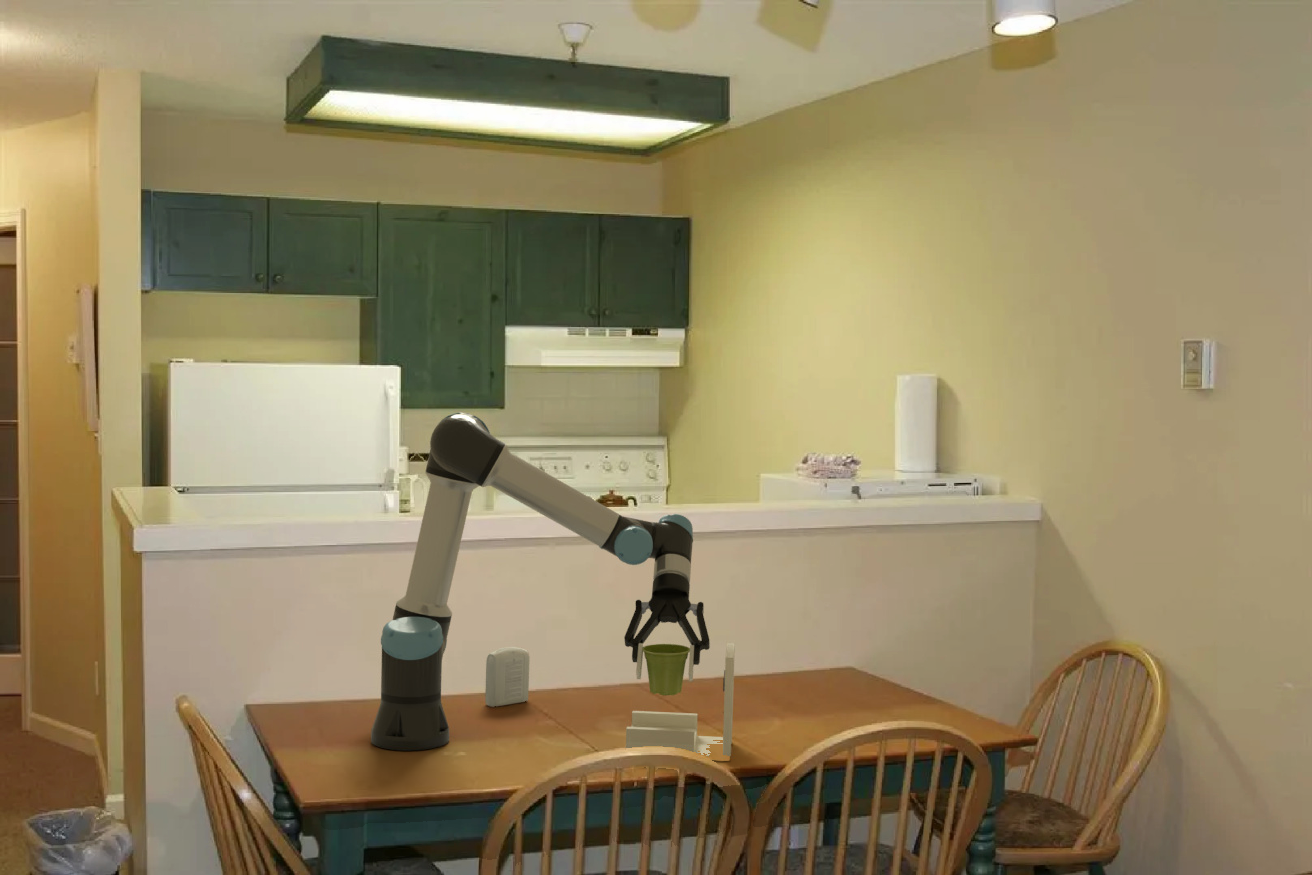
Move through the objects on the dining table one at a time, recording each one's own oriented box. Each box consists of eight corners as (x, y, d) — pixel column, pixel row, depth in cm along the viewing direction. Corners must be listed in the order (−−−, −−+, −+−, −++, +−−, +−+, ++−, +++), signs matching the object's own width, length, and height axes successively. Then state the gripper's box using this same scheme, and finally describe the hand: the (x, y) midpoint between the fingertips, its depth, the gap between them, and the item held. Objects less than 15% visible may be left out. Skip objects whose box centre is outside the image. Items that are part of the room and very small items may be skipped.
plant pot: (648, 699, 269) (649, 654, 269) (635, 687, 278) (636, 644, 278) (695, 697, 272) (696, 652, 271) (681, 685, 281) (682, 642, 280)
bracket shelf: (632, 737, 283) (634, 639, 282) (731, 742, 282) (734, 643, 280) (625, 756, 269) (628, 653, 268) (730, 761, 268) (733, 657, 267)
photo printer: (519, 697, 314) (520, 643, 313) (531, 701, 311) (532, 646, 310) (482, 704, 307) (483, 648, 306) (494, 708, 304) (495, 651, 303)
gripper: (725, 594, 289) (721, 688, 274) (618, 591, 290) (608, 684, 275) (725, 572, 283) (721, 667, 268) (616, 569, 285) (606, 663, 270)
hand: (664, 676), depth 272 cm, fingers closed on plant pot, 9 cm apart
